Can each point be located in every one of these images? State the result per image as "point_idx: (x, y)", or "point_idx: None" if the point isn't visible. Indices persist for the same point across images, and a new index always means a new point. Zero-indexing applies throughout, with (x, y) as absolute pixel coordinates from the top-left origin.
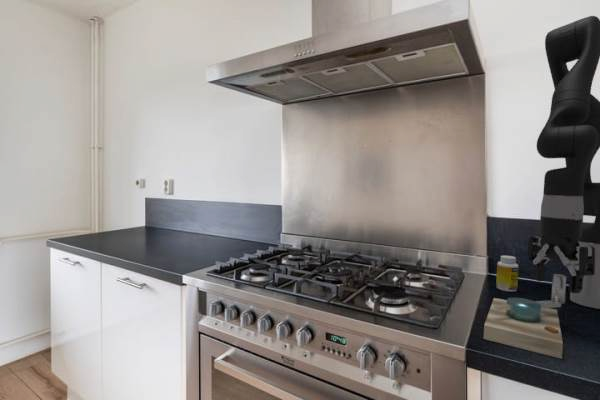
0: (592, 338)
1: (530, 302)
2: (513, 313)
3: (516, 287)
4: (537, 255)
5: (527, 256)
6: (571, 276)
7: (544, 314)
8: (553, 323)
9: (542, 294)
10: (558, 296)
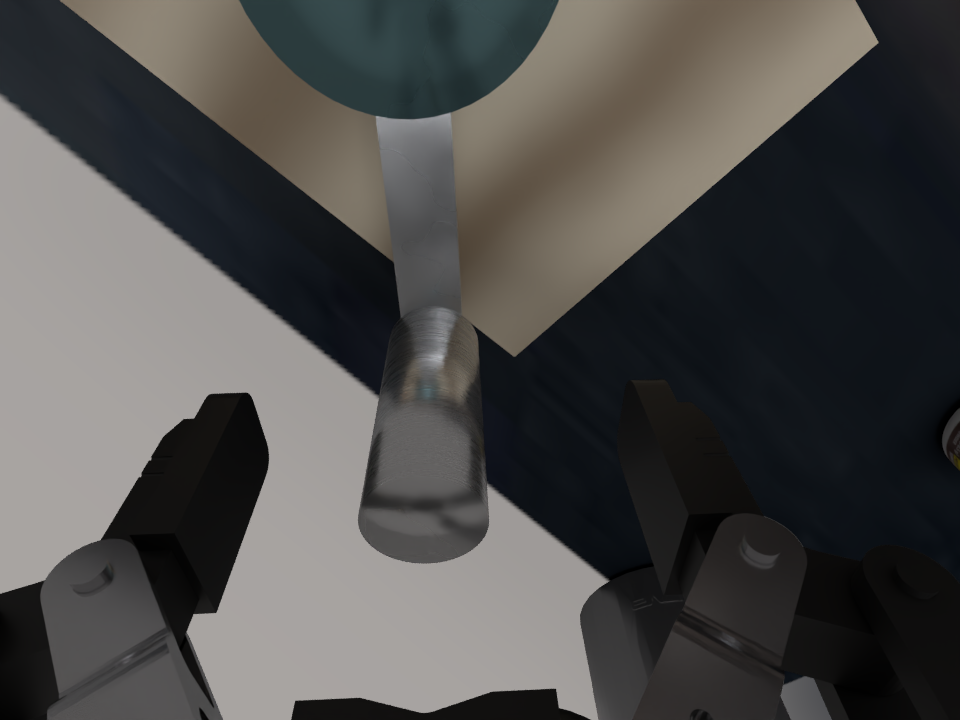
0: (299, 326)
1: (399, 35)
2: None
3: (955, 458)
4: (757, 666)
5: (957, 592)
6: (151, 528)
7: None
8: (273, 121)
9: (828, 524)
10: (396, 351)
